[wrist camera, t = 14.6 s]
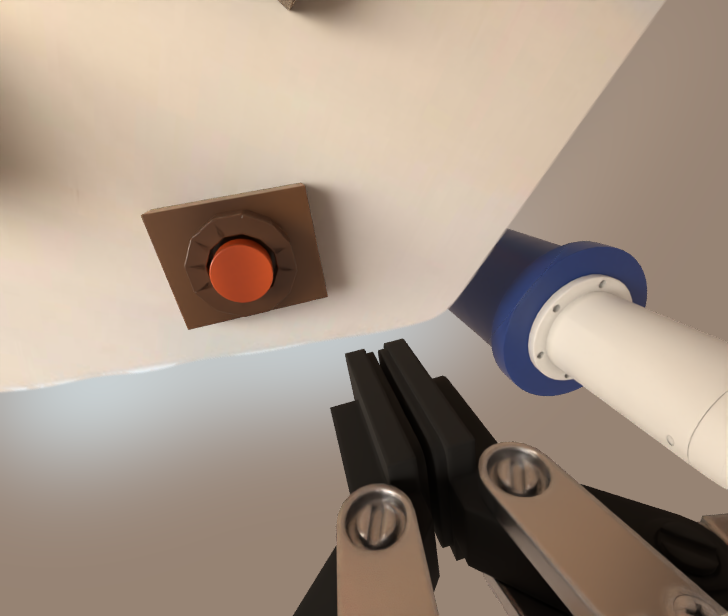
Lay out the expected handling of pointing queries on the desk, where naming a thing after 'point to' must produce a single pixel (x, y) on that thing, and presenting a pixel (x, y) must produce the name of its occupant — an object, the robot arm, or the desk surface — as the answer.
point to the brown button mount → (228, 222)
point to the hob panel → (287, 3)
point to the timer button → (241, 270)
